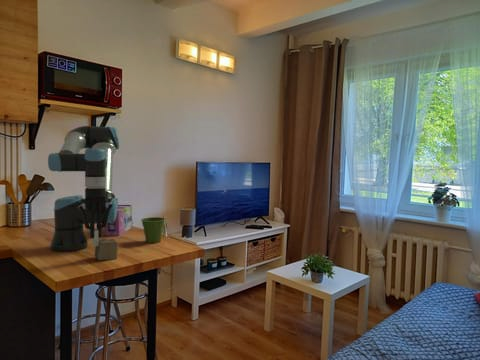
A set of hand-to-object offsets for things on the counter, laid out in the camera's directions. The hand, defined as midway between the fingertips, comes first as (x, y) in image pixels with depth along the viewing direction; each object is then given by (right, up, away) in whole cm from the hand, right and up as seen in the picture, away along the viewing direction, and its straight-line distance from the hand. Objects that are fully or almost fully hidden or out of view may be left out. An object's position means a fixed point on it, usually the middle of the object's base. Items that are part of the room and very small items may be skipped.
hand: (95, 245), depth 140 cm
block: (+1, -2, 0) cm, 2 cm away
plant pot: (+15, -4, +31) cm, 35 cm away
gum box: (-9, -3, +53) cm, 54 cm away
